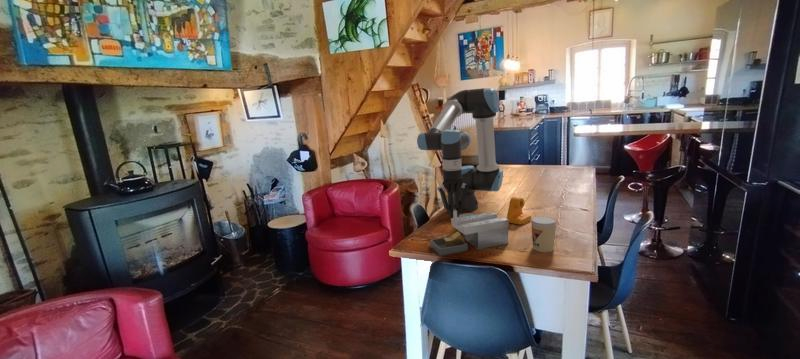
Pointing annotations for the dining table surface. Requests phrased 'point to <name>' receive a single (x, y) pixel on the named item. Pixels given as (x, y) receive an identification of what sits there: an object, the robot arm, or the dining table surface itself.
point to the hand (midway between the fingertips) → (454, 225)
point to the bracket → (517, 211)
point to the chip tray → (442, 251)
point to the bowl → (466, 215)
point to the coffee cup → (543, 233)
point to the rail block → (484, 230)
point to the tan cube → (458, 238)
